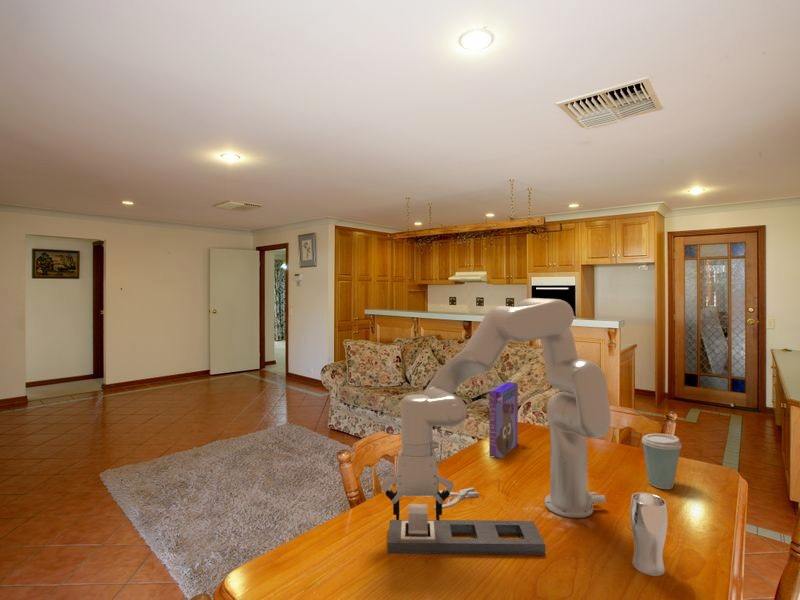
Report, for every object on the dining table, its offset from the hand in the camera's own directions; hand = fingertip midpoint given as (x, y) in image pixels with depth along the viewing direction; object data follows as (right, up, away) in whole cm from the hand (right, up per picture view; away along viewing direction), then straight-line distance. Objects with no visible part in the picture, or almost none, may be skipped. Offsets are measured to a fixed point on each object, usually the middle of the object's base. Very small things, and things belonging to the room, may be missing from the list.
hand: (417, 517), depth 105 cm
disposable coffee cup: (+76, -5, +29) cm, 81 cm away
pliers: (+11, -6, +22) cm, 25 cm away
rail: (+11, -6, 0) cm, 12 cm away
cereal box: (+35, -4, +59) cm, 68 cm away
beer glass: (+50, -6, -10) cm, 51 cm away
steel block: (0, -6, 0) cm, 6 cm away
